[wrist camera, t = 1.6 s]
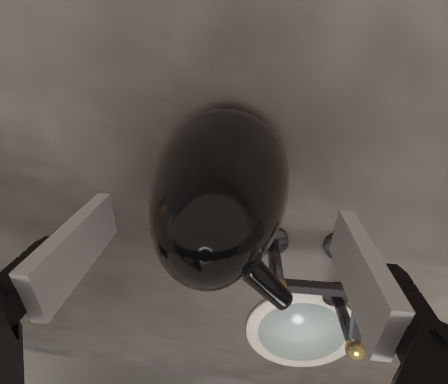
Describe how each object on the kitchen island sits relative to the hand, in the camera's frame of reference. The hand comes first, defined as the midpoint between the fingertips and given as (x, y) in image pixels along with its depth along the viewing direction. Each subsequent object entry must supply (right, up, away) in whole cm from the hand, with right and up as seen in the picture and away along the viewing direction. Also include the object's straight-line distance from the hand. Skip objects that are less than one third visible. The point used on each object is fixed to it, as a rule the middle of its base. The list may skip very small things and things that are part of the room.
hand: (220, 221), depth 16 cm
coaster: (+10, -16, +20) cm, 27 cm away
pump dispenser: (+1, +5, +10) cm, 11 cm away
